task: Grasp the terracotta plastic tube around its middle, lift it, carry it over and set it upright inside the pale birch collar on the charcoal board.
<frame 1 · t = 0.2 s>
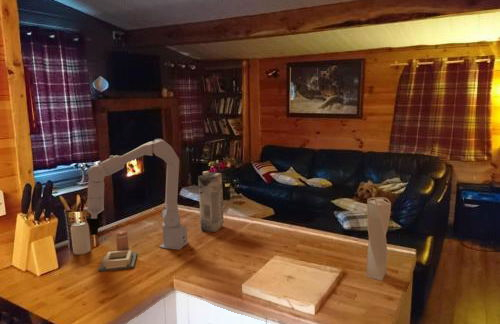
hand: (94, 231, 141), 11 cm above the kitchen counter, tool pointing down, fingers open, 7 cm apart
can: (82, 252, 148), on the kitchen counter
juice carton: (212, 229, 170), on the kitchen counter
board: (118, 262, 137), on the kitchen counter
tube: (123, 251, 147), on the kitchen counter
skyscraper: (375, 276, 123), on the kitchen counter
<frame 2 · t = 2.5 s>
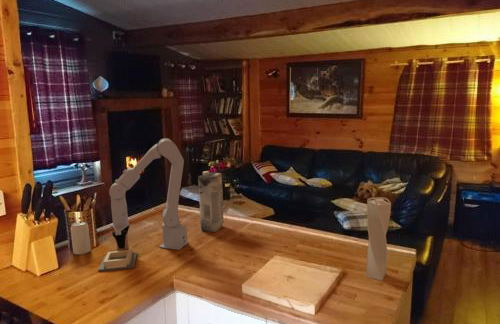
hand: (122, 245, 147), 2 cm above the kitchen counter, tool pointing down, fingers closed on tube, 4 cm apart
tube: (123, 251, 147), on the kitchen counter, touching gripper
everything else where it was.
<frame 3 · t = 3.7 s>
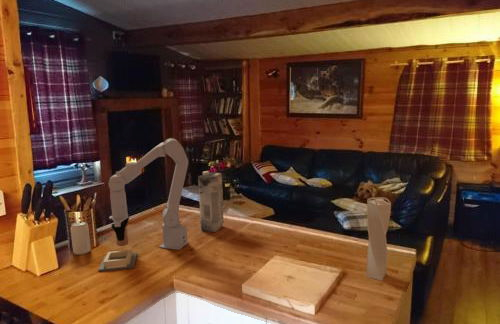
hand: (122, 238, 146), 6 cm above the kitchen counter, tool pointing down, fingers closed on tube, 4 cm apart
tube: (122, 243, 147), point 3 cm above the kitchen counter, touching gripper
everything else where it was.
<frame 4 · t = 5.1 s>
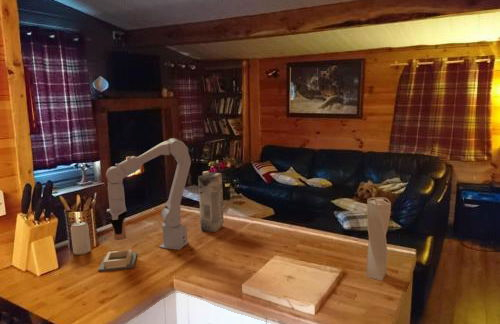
hand: (119, 231, 143), 9 cm above the kitchen counter, tool pointing down, fingers closed on tube, 4 cm apart
tube: (120, 237, 143), point 7 cm above the kitchen counter, touching gripper
everything else where it was.
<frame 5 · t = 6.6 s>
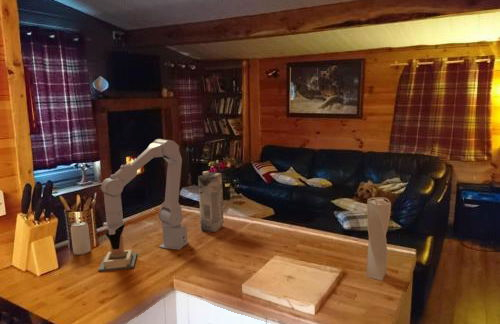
hand: (117, 246, 136), 7 cm above the kitchen counter, tool pointing down, fingers closed on tube, 4 cm apart
tube: (117, 252, 137), point 4 cm above the kitchen counter, touching gripper
everything else where it was.
when the fingers open (4 cm above the kitchen counter, at t = 7.9 s): tube drops 1 cm, resting on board.
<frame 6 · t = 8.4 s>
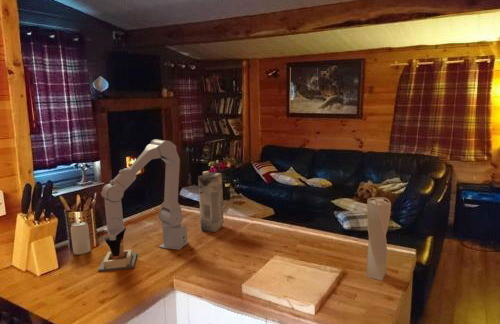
hand: (117, 251, 137), 4 cm above the kitchen counter, tool pointing down, fingers open, 7 cm apart
tube: (118, 260, 137), point 1 cm above the kitchen counter, touching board
everything else where it was.
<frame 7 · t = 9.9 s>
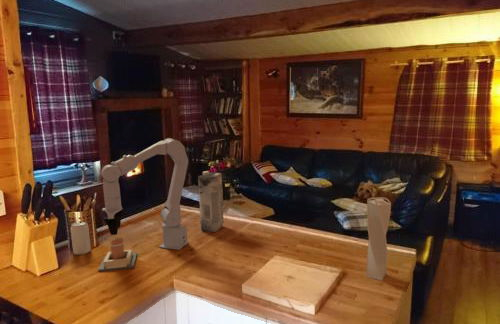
hand: (115, 230, 141), 10 cm above the kitchen counter, tool pointing down, fingers open, 7 cm apart
nothing on the kitchen counter moved.
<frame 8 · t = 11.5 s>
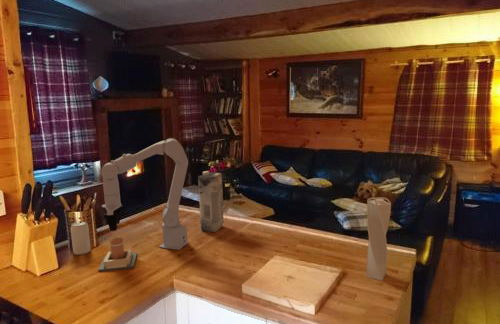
hand: (115, 227, 145), 10 cm above the kitchen counter, tool pointing down, fingers open, 7 cm apart
nothing on the kitchen counter moved.
at the end: tube 0.0 cm off-centre on the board, point 0.8 cm above the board's base; tube tilted 1°; the gripper is holding nothing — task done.
